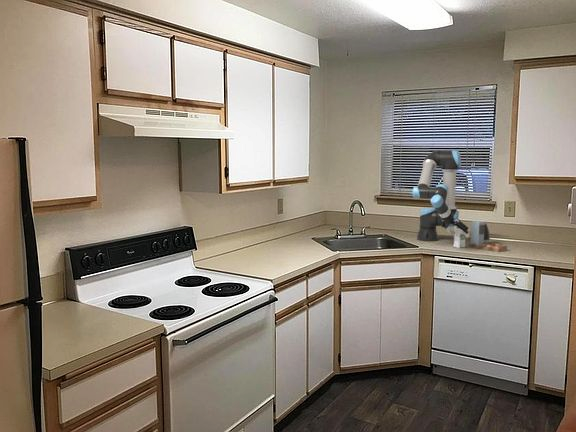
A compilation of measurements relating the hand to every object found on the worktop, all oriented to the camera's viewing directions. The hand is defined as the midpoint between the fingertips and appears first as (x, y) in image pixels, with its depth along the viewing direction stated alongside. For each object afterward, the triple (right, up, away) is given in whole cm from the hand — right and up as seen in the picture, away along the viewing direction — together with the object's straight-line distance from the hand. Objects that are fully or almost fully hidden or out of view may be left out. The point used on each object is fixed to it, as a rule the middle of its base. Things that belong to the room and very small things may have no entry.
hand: (459, 234), depth 343 cm
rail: (+18, -9, -2) cm, 20 cm away
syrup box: (0, -9, +2) cm, 9 cm away
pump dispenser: (+20, -7, +15) cm, 26 cm away
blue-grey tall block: (+13, -6, +4) cm, 15 cm away
